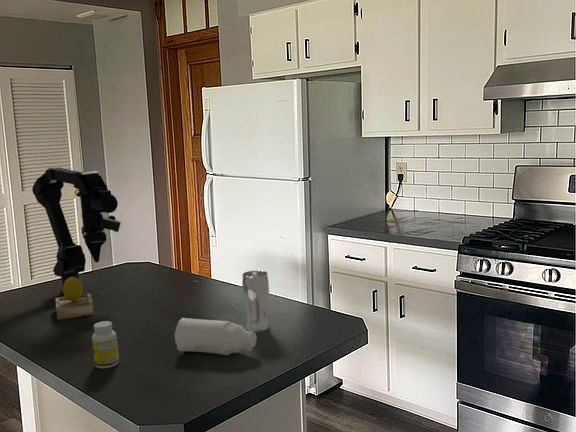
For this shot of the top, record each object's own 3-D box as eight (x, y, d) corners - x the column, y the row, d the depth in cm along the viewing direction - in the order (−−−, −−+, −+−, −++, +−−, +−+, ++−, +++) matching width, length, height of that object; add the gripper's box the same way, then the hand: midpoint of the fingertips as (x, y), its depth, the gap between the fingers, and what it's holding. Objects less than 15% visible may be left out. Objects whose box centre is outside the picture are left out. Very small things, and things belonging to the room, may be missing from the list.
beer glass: (274, 324, 153) (272, 270, 151) (265, 334, 147) (262, 277, 144) (250, 322, 156) (247, 269, 153) (240, 331, 149) (237, 276, 147)
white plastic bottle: (248, 363, 130) (246, 330, 128) (174, 356, 135) (172, 324, 134) (260, 350, 137) (259, 318, 136) (190, 343, 143) (188, 313, 141)
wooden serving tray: (56, 309, 174) (55, 298, 173) (91, 304, 178) (90, 293, 177) (57, 319, 165) (56, 307, 164) (93, 314, 168) (92, 301, 168)
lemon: (77, 305, 168) (74, 279, 166) (60, 305, 169) (57, 278, 167) (87, 299, 173) (85, 274, 172) (71, 299, 174) (68, 273, 173)
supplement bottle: (98, 360, 134) (94, 320, 133) (121, 358, 135) (117, 319, 133) (92, 370, 129) (87, 328, 128) (116, 368, 130) (112, 327, 128)
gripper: (121, 212, 174) (125, 261, 177) (114, 205, 191) (118, 250, 194) (82, 215, 170) (87, 266, 172) (79, 208, 187) (83, 254, 189)
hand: (95, 259), depth 182 cm, fingers open, 9 cm apart
